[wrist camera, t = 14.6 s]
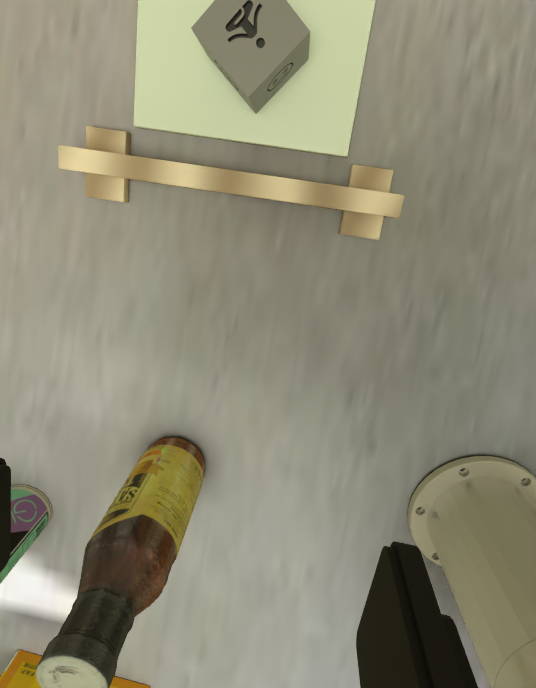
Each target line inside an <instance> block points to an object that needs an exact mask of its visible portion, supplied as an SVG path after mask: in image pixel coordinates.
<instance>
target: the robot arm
mask: <svg viewBox="0 0 536 688" xmlns="http://www.w3.org/2000/svg"><path fill="white" fill-rule="evenodd" d="M408 524H409V529H410V532H411V535H412V538H413V540H414V542H415V544H416V546H414V545H409V544H404V543H399V542H392V544H391V546H390V547H387V546H384V547H383V549H382V552H381V555H380V558H379V562H378V565H377V568H376V571H375V575H374V578H373V581H372V584H371V588H370V591H369V594H368V597H367V601H366V604H365V607H364V611H363V614H362V617H361V620H360V624H359V627H358V631H357V639H356V648H357V658H358V667H359V676H360V686H361V688H478V687H477V684H476V681H475V678H474V675H473V673H472V670H471V667H470V664H469V661H468V659H467V656H466V653H465V650H464V647H463V645H462V642H461V639H460V636H459V633H458V631H457V628H456V626H455V623H454V621H453V620H452V618H451V617H450V616H447V615H442V614H441V612H440V609H439V606H438V603H437V600H436V597H435V594H434V591H433V588H432V585H431V582H430V579H429V576H428V573H427V570H426V567H425V564H424V561H423V558H422V555H421V552H422V553H423V555H424V556H426V557H427V558H428V559H429V560H430V561H432V562H433V563H435V564H437V565H439V566H441V567H442V568H443V570H444V573H445V575H446V578H447V580H448V583H449V585H450V588H451V590H452V593H453V595H454V598H455V600H456V603H457V605H458V608H459V610H460V613H461V615H462V618H463V620H464V623H465V625H466V628H467V630H468V633H469V635H470V638H471V640H472V643H473V645H474V648H475V650H476V653H477V655H478V658H479V660H480V663H481V665H482V668H483V670H484V673H485V675H486V678H487V680H488V682H489V685H490V687H491V688H536V478H535V477H534V476H533V475H532V474H531V473H530V472H529V471H528V470H527V469H525V468H524V467H522V466H520V465H518V464H517V463H515V462H512V461H509V460H506V459H503V458H498V457H492V456H473V457H467V458H461V459H458V460H455V461H452V462H449V463H447V464H445V465H443V466H442V467H440V468H438V469H436V470H435V471H434V472H432V473H431V474H430V475H428V476H427V477H426V478H425V479H424V480H423V481H422V482H421V483H420V485H419V486H418V487H417V489H416V490H415V492H414V494H413V495H412V498H411V501H410V504H409V508H408ZM420 551H421V552H420ZM10 555H11V469H10V467H9V466H6V462H5V460H4V459H2V458H0V572H1V571H2V570H3V569H4V568H5V566H6V565H7V563H8V561H9V558H10Z"/></svg>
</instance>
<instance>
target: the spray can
mask: <svg viewBox="0 0 536 688" xmlns="http://www.w3.org/2000/svg"><path fill="white" fill-rule="evenodd" d="M51 517H52V506H51V503H50V502H49V500H48V498H47V497H46V496H45V495H44V494H43V493H42V492H41V491H39V490H38V489H36V488H33V487H31V486H27V485H15V486H12V487H11V555H10V558H9V561H8V563H7V565H6V566H5V568H4V569H3V570H2V571H1V572H0V583H1V582H2V581H3V580H4V578H5V577H6V576H7V575H8V573H9V572H10V571H11V569H12V568H13V567H14V566H15V564H16V563H17V562H18V561H19V559H20V558H21V557H22V556H23V554H24V553H25V552H26V551H27V549H28V548H29V547H30V545H31V544H32V543H33V542H34V540H35V539H36V538H37V537H38V535H39V534H40V533H41V532H42V530H43V529H44V528H45V527H46V525H47V524H48V522H49V521H50V519H51Z"/></svg>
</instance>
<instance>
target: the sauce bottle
mask: <svg viewBox="0 0 536 688" xmlns="http://www.w3.org/2000/svg"><path fill="white" fill-rule="evenodd" d="M204 472H205V464H204V460H203V457H202V454H201V453H200V451H199V450H198V449H197V447H195V446H194V445H193V444H191V443H190V442H187V441H186V440H183V439H180V438H175V437H171V438H170V437H169V438H164V439H161V440H159V441H157V442H156V443H154V444H153V445H152V446H150V447H149V449H148V450H147V451H146V452H145V453H144V454H143V455H142V456H141V458H140V459H139V461H138V463H137V464H136V466H135V467H134V469H133V471H132V472H131V474H130V475H129V477H128V479H127V480H126V482H125V483H124V485H123V487H122V488H121V490H120V491H119V493H118V495H117V496H116V498H115V500H114V501H113V503H112V504H111V506H110V507H109V509H108V511H107V513H106V514H105V516H104V518H103V519H102V521H101V522H100V524H99V526H98V527H97V529H96V530H95V532H94V534H93V535H92V537H91V539H90V540H89V542H88V544H87V546H86V549H85V554H84V560H83V567H82V573H81V580H80V585H79V590H78V595H77V599H76V600H75V602H74V604H73V606H72V610H71V612H70V614H69V615H68V617H67V619H66V621H65V622H64V624H63V626H62V628H61V630H60V632H59V634H58V635H57V636H56V637H55V638H54V639H53V640H52V641H51V642H50V643H49V644H48V646H47V648H46V650H45V652H44V653H43V656H42V658H41V660H40V662H39V663H38V666H37V669H36V678H37V680H38V683H39V685H40V686H41V687H42V688H109V687H110V685H111V683H112V680H113V678H114V675H115V671H116V668H117V660H118V656H119V653H120V651H121V648H122V646H123V644H124V641H125V639H126V636H127V634H128V632H129V631H130V630H131V628H132V626H133V622H134V617H135V616H137V615H138V614H139V613H141V612H142V611H143V610H144V609H146V608H147V607H149V606H151V604H152V603H153V602H154V601H155V600H156V599H157V598H158V597H159V595H160V594H161V593H162V590H163V588H164V586H165V585H166V582H167V580H168V575H169V572H170V570H171V567H172V564H173V563H174V561H175V560H176V557H177V555H178V552H179V549H180V546H181V543H182V540H183V538H184V535H185V532H186V529H187V526H188V523H189V520H190V518H191V515H192V512H193V509H194V506H195V504H196V501H197V498H198V495H199V492H200V489H201V486H202V483H203V477H204Z"/></svg>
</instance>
